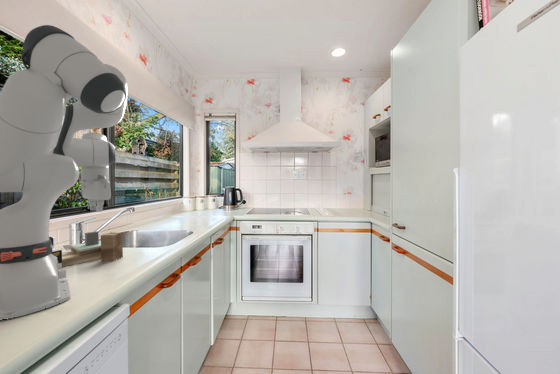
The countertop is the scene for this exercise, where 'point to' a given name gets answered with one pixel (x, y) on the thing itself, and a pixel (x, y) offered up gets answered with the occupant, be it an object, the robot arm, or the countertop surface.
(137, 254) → the countertop surface
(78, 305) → the countertop surface
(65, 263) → the puzzle board
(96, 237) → the cover
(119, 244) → the block
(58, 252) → the medicine bottle
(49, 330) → the countertop surface
